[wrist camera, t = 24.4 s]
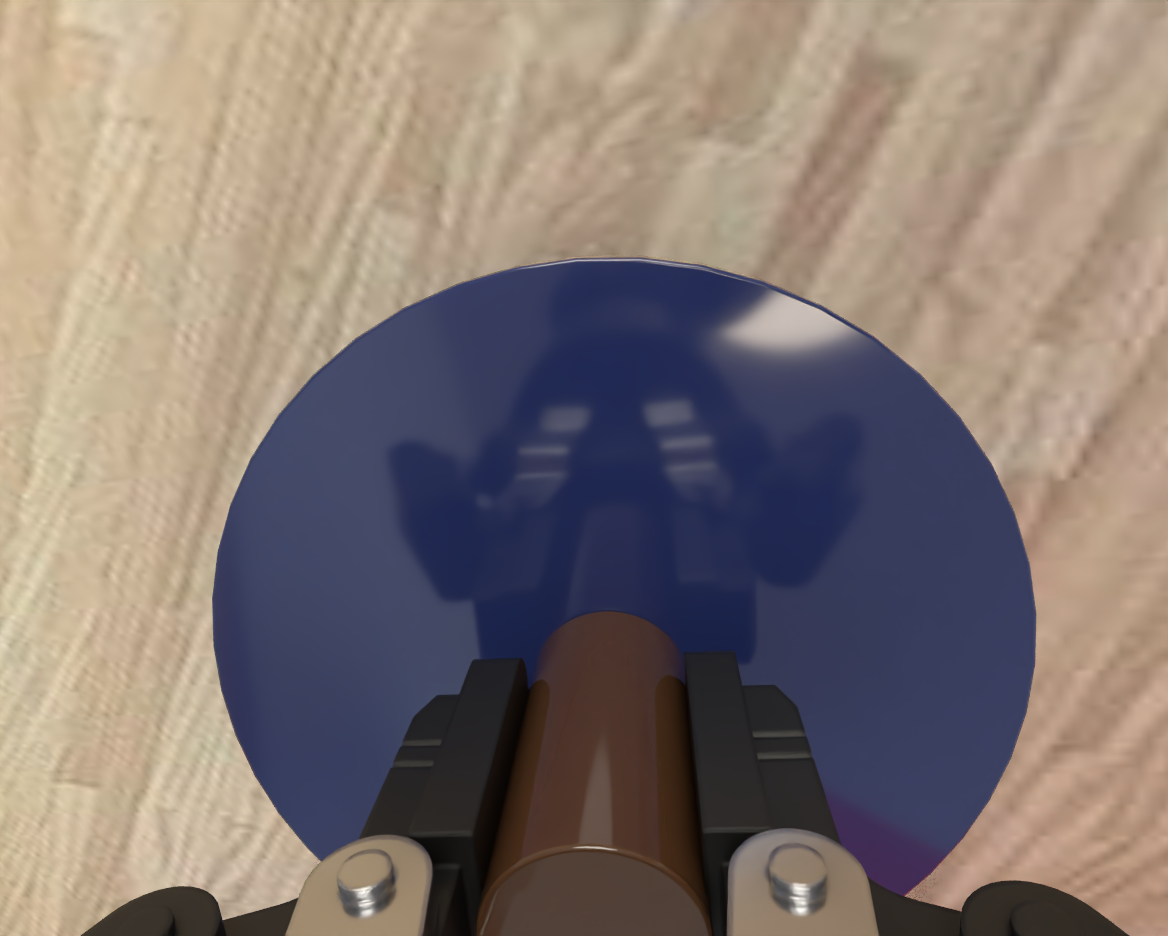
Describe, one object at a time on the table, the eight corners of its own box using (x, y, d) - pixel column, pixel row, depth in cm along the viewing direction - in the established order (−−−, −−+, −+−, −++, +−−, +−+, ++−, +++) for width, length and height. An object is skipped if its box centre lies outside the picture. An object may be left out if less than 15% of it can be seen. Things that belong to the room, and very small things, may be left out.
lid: (166, 286, 12) (-236, 348, 7) (1040, 217, 11) (1451, 220, 5) (315, 938, 16) (140, 1328, 10) (978, 935, 15) (1183, 1370, 9)
